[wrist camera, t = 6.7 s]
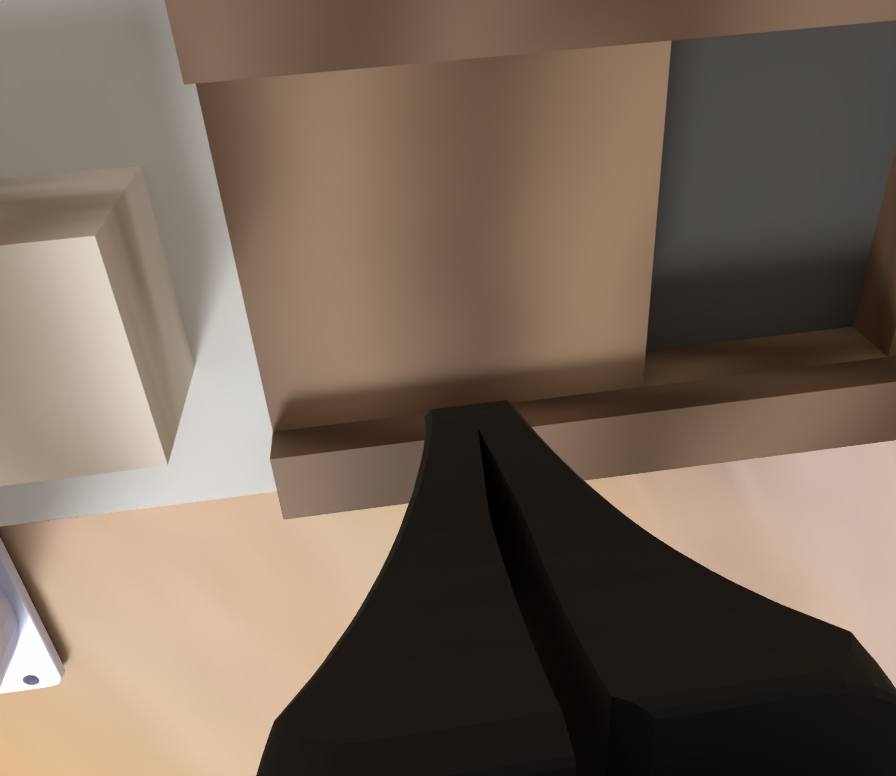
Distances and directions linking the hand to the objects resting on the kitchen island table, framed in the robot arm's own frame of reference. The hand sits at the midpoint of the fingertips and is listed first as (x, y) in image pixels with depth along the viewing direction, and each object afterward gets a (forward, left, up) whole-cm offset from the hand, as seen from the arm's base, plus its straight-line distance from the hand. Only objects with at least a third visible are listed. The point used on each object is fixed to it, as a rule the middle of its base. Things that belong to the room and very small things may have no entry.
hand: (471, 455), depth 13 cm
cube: (-8, +1, -7) cm, 11 cm away
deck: (+1, 0, -9) cm, 9 cm away
